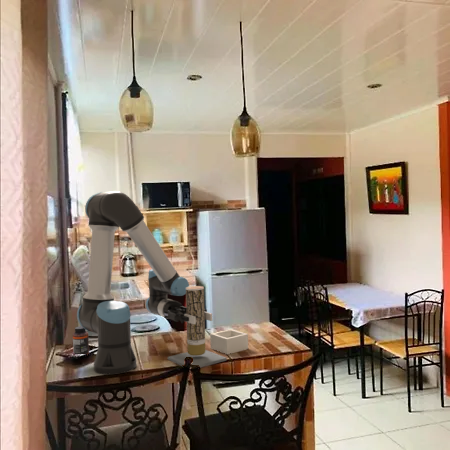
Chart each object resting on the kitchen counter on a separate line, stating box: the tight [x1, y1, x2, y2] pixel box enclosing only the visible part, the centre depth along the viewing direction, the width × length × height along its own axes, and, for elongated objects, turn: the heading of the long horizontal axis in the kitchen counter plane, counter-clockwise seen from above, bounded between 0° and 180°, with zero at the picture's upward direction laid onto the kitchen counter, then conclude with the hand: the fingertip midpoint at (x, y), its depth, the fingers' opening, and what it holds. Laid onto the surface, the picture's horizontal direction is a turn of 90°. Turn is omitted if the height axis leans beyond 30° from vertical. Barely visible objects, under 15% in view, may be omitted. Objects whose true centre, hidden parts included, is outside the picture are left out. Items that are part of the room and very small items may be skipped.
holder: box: [209, 328, 249, 355], centre depth 191 cm, size 11×11×6 cm
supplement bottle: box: [72, 325, 90, 356], centre depth 187 cm, size 6×6×11 cm
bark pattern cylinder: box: [185, 285, 206, 356], centre depth 177 cm, size 7×7×25 cm
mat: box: [167, 349, 228, 368], centre depth 177 cm, size 16×16×1 cm
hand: (203, 318), depth 173 cm, fingers closed on bark pattern cylinder, 7 cm apart
